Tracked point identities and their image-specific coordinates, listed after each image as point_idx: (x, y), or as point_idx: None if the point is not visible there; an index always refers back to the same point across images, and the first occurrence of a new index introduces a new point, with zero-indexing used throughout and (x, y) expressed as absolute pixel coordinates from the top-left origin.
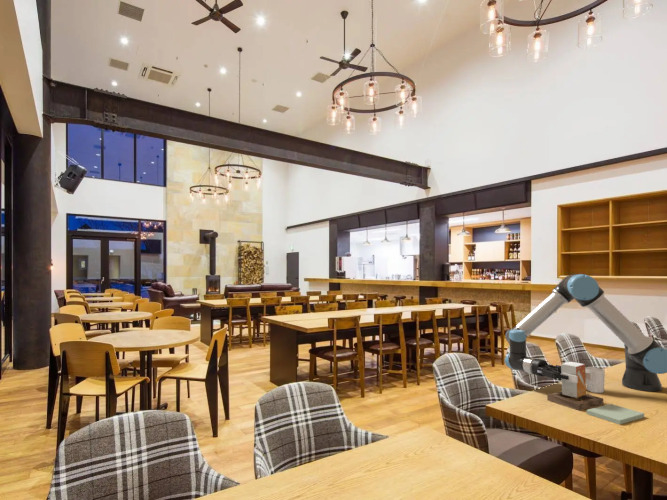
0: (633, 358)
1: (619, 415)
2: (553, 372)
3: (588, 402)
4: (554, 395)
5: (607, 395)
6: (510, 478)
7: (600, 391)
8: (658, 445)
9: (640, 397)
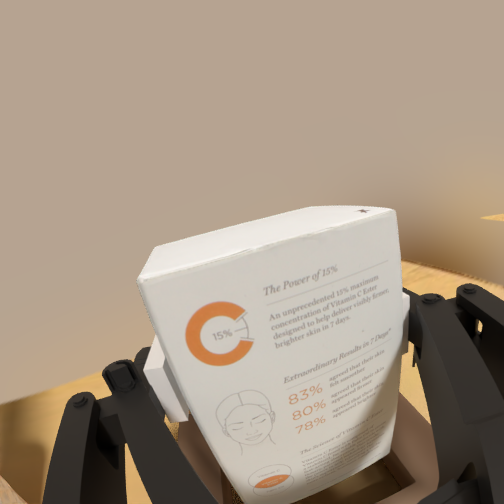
0: None
1: None
2: (479, 301)
3: None
4: (435, 464)
5: (45, 483)
6: None
7: (24, 501)
8: None
9: (15, 425)
